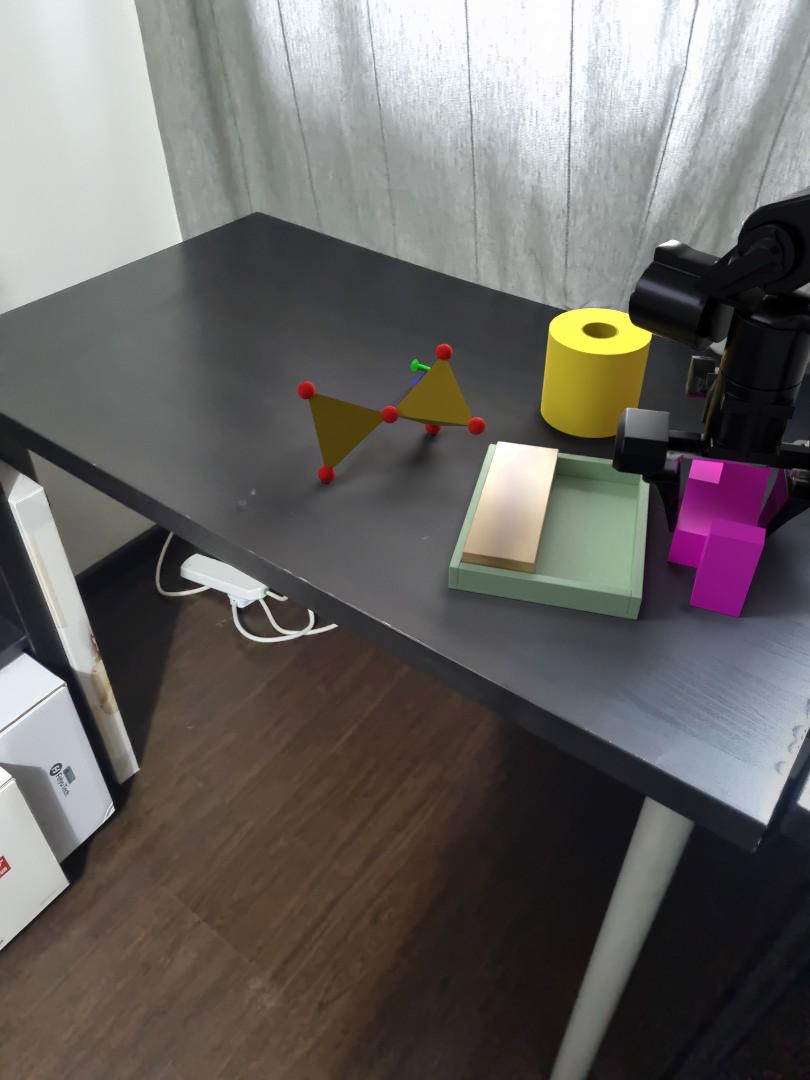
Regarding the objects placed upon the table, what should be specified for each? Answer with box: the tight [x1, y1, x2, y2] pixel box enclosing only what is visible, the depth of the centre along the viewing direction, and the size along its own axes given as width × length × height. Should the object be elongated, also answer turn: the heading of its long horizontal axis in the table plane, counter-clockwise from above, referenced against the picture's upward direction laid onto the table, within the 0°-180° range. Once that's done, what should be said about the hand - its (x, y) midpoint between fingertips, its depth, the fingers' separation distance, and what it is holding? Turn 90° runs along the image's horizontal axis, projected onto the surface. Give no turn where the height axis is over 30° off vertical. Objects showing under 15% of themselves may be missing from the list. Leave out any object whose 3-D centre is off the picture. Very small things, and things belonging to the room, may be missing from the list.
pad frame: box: [447, 443, 651, 621], centre depth 72 cm, size 15×18×2 cm
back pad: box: [462, 441, 560, 574], centre depth 73 cm, size 6×16×3 cm, turn 165°
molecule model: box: [296, 343, 486, 484], centre depth 82 cm, size 16×18×12 cm
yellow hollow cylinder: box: [540, 307, 653, 439], centre depth 85 cm, size 10×10×9 cm
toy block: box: [666, 459, 772, 618], centre depth 69 cm, size 15×6×8 cm, turn 157°
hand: (713, 535), depth 70 cm, fingers closed on toy block, 6 cm apart
